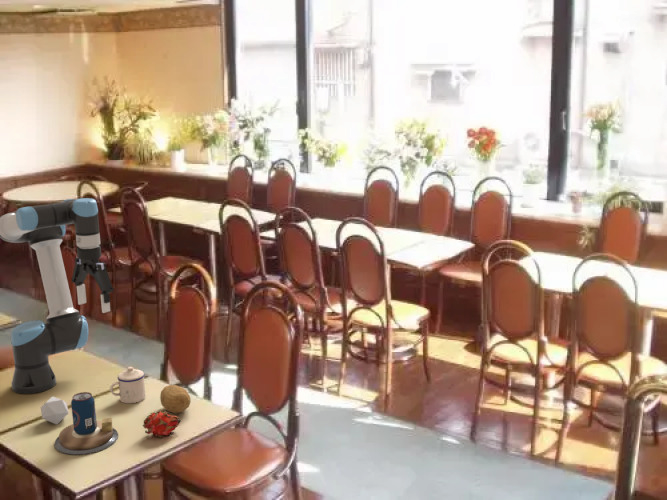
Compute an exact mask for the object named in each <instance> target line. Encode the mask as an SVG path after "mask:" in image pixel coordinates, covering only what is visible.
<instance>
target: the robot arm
mask: <svg viewBox="0 0 667 500" xmlns="http://www.w3.org/2000/svg"><path fill="white" fill-rule="evenodd" d="M97 203H98V202H97V201H96V199H95V198H89V197H86V198H85V197H84V198H83V197H82V198H77V199H73V198H72V199H65V200H63V201H62V202H55V203H48V204H39V205H34V206H32V205H31V206H29V205H28V206H25V207H19V208H18V209H17V210H15V211H11V212H8V213H4V214H3V215H1V216H0V239H1V240H3V241H4V242H8V243H12V244H13V243H14V244H18V243H20V244H21V243H29V247H30V248H31V249H32V250H34V251H35V253H36V258H37V262H38V266H39V267H38V268H39V270H40V276H41V281H42V283H43V284H42V285H43V288H44V293H45V298H46V299H45V300H46V303H47V306H48V311H49V313H48V315H47V317H46V322H47V323H45V322H44V321H42V320H41V319H40V320H39V319H37V320H29V321H26V322H23V323H20V324H18V325H17V326H15V327H14V328H13V329H12V330H11V334H10V335H11V336H10V337H11V338H10V341H11V346H12V356H13V362H14V363H13V364H14V372H13V376H12V380H11V390H12V391H13V392H14V393H16V394H21V395H22V394H23V395H30V394H31V395H32V394H38V393H42V392H45V391H48V390H50V389H51V388H53V387H55V386H56V384H57V378H56V374H55V372H54V371H53V369H52V367H51V365H50V361H49V360H50V359H49V356H52V355H57V354H60V353H64V352H65V353H66V352H69V351H74V350H76V349H81V348H83V347H85V346H86V344H87V343H88V340H89V339H88V338H89V325H88V321H87V317H85V316H84V315H80V311H79V310H78V309H75V307H74V305H73V300H72V299H73V298H72V295H71V291H70V287H69V281H68V278H67V272H66V270H65V269H66V268H65V265H64V260H63V256H62V251H61V247H60V245H61V244H62V242H63V241H64V240H63V237H64V236H65V235H66V232H67V231H66V226H68V225H74V230H75V231H74V233H75V241H76V247H77V248H76V255H77V257H75V258H74V268H73V271H72V272H73V273H72V277H71V283H73V284H74V285H75V287H76V294H77V305H79V306H80V305H81V306H82V305H84V304H86V303H87V294H86V293H87V292H86V284H85V280H86V278H87V277H88V274H89V275H90V276H91V277H93V278H94V280H95V282H96V284H97V286H98V288H99V291H101V293H100V302H101V303H100V305H101V313H102V314H105V313H109V312H111V299H110V296H111V295H110V293H113V292H114V286H113V284H112V282H111V278H110V276H109V273H108V271H107V265H106V262H100V261H99V259H100V258H101V257H102V248H101V235H100V225H99V224H100V223H99V207H98V204H97Z"/></svg>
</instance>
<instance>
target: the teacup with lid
mask: <svg viewBox="0 0 667 500" xmlns="http://www.w3.org/2000/svg"><path fill="white" fill-rule="evenodd" d="M117 380H118V381H116V382H113V383H112V384H111V385H110V387H109V390H110V393H111V394H112V395H113V396H115V397H119V400H120V402H122V403H124V404H137V403H140V402H143V400H145V398H146V389H145V388H146V386H145V372H144V371H143V370H140V369H136V368H134V367H133V366H128V367H127V369H125V370H124V371H121V372H120V373H119V374H118V375H117ZM116 385H117V386H118V390H119V393H115V392H114V390H113V389H114V387H115V386H116ZM136 402H137V403H136Z"/></svg>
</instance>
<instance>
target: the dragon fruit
mask: <svg viewBox="0 0 667 500" xmlns="http://www.w3.org/2000/svg"><path fill="white" fill-rule="evenodd" d="M180 423H181V419H180V417H178V415H171V414H170V413H169V411H164V412H162V411H157V412H150V413H149V414H148V415H147V416H146V418H145V419H144V420H143V424H142V427H143V428H144V429H146V430H145V433H144V434H146V435H150V434H152V435H153V436H154V437H156V436H157V437H158V438H159V439H161V438H162V437H163V436H171V435H173V434H174V433H175V430H176V428H178V426H179V425H180Z"/></svg>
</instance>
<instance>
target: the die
mask: <svg viewBox="0 0 667 500" xmlns="http://www.w3.org/2000/svg"><path fill="white" fill-rule="evenodd" d="M40 413H41V418H42V420H45V421H47V422H49V423H51V424H54V425H58V424H59V423H60V422H61V421H62V420H63V419H64V418H66V416H67V415H69V408H68V403H67V401H65V400H63V399H61V398H59V397H55V396H53V395H52V396H51V397H50V398H49V399H47V401H46V402H45V403H43V404H42V405H41V407H40Z"/></svg>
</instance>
